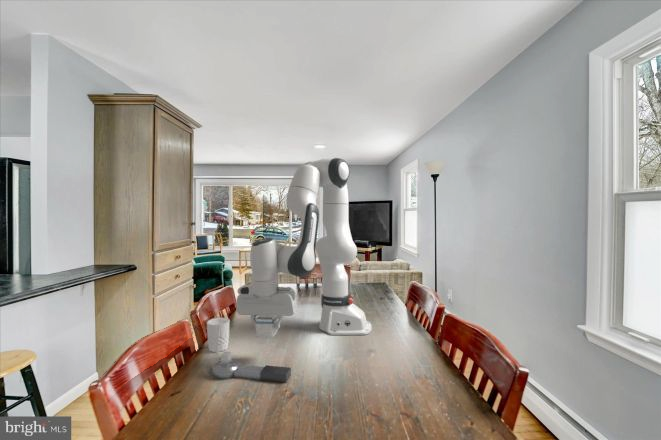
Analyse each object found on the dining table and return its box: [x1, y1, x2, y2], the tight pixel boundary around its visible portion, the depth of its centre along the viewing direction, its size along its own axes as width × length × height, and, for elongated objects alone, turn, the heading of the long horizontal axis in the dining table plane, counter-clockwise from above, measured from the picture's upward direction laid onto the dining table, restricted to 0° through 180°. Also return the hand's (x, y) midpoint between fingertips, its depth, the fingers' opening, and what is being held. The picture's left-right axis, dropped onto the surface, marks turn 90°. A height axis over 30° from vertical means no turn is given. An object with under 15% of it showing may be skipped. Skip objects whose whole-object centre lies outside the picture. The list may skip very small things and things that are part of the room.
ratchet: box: [211, 351, 292, 384], centre depth 96 cm, size 24×8×6 cm, turn 79°
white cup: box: [206, 317, 231, 353], centre depth 116 cm, size 8×8×10 cm
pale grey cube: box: [255, 315, 279, 339], centre depth 107 cm, size 6×6×6 cm
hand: (267, 327), depth 107 cm, fingers closed on pale grey cube, 6 cm apart
